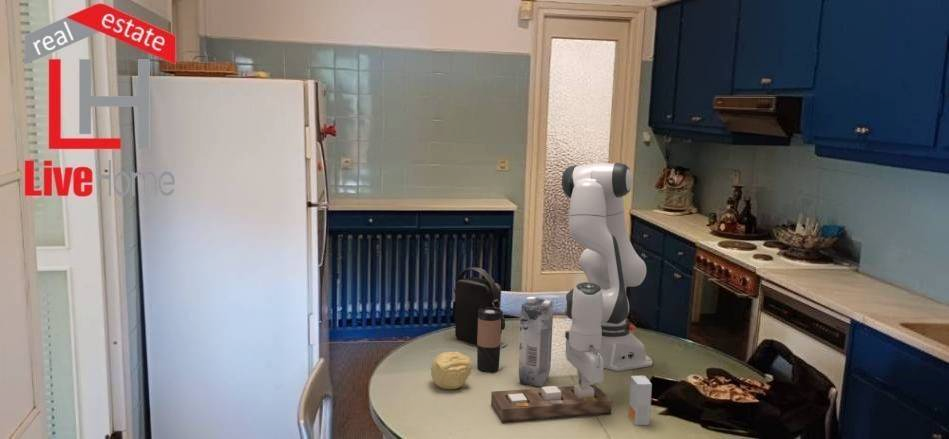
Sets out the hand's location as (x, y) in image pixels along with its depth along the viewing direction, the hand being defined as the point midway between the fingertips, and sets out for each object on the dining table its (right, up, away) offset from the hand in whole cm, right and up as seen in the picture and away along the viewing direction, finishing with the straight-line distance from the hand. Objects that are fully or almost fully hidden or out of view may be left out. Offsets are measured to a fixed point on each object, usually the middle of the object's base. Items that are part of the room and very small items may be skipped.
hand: (582, 386), depth 196 cm
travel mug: (-27, -1, +28) cm, 39 cm away
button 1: (-19, -5, -4) cm, 20 cm away
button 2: (0, -3, +1) cm, 3 cm away
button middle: (-9, -3, -2) cm, 10 cm away
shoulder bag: (-31, +3, +55) cm, 63 cm away
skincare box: (+15, -8, -7) cm, 18 cm away
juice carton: (-12, -3, +19) cm, 23 cm away
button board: (-9, -6, -1) cm, 11 cm away
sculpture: (-39, -3, +14) cm, 41 cm away
